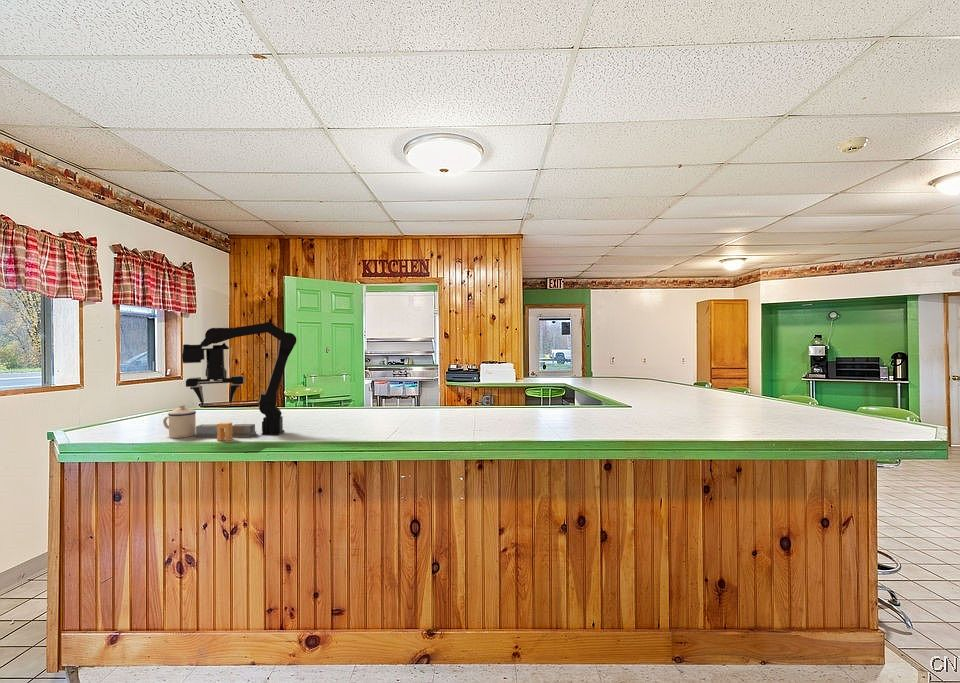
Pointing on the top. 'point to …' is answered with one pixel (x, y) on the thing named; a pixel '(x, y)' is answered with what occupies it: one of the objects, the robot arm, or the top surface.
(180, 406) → the teacup with lid
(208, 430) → the rail
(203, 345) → the robot arm
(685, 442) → the top surface
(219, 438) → the clip
